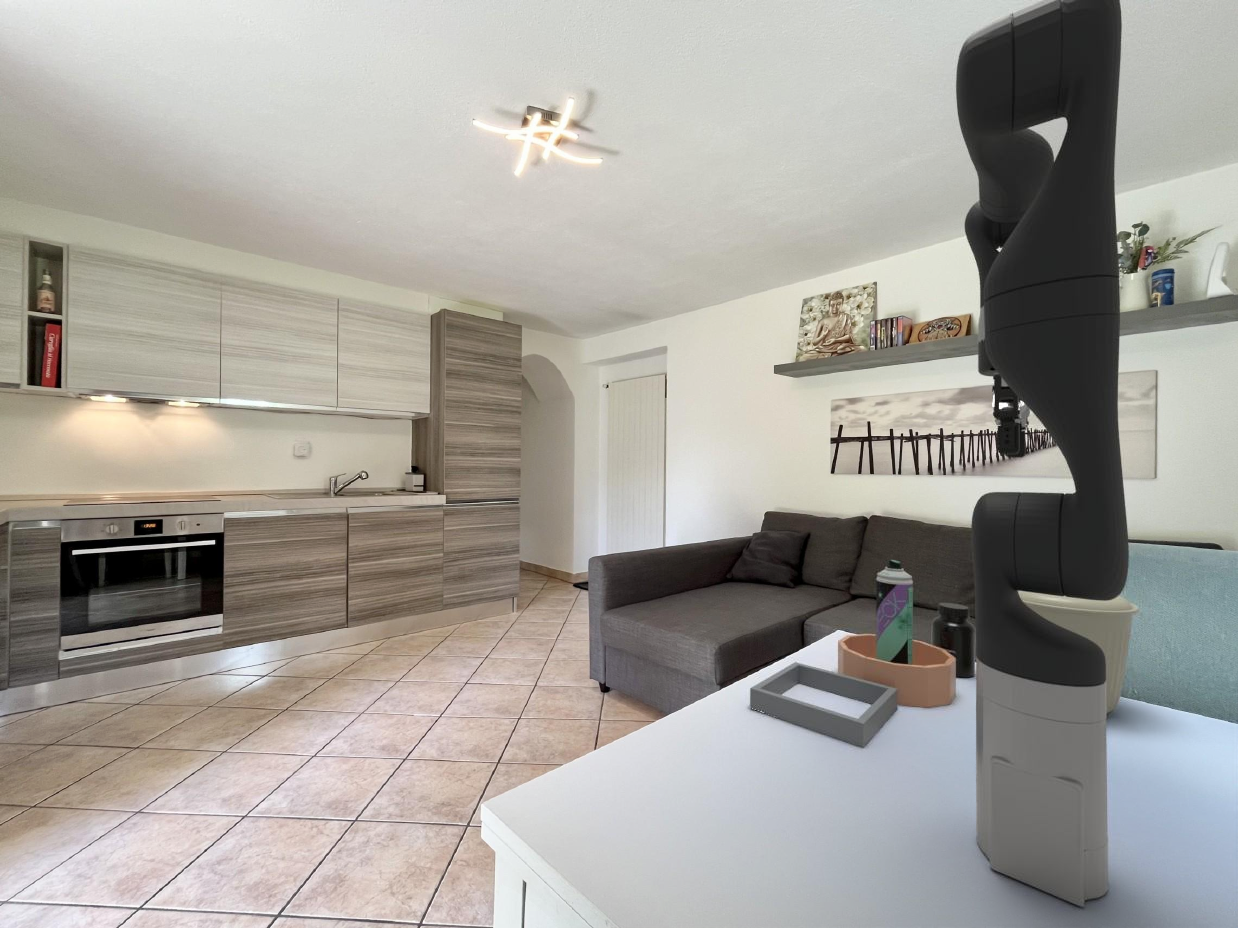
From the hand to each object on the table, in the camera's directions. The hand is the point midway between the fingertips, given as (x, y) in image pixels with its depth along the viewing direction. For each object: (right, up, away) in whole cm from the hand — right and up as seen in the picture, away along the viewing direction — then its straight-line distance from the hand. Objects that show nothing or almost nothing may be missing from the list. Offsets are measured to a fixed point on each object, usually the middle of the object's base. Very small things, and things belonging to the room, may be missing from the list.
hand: (1012, 455), depth 70 cm
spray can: (-7, -38, +17) cm, 42 cm away
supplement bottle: (+8, -39, +25) cm, 47 cm away
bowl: (-7, -39, +18) cm, 43 cm away
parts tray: (-22, -38, +8) cm, 45 cm away
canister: (+17, -39, +12) cm, 44 cm away
